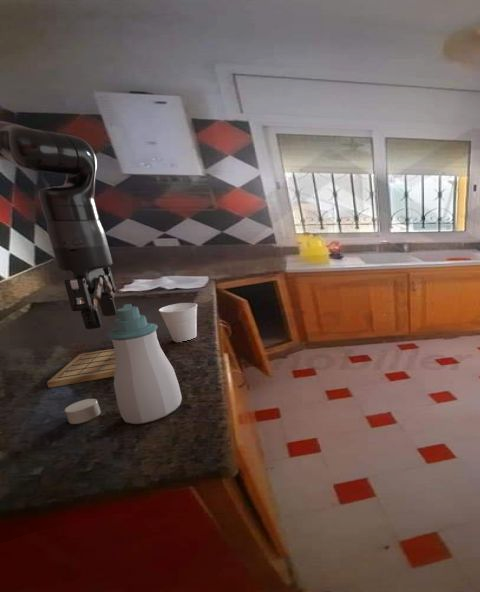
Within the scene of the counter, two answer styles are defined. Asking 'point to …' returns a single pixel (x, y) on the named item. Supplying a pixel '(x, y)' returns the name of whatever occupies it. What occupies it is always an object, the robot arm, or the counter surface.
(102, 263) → the robot arm
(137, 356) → the soap bottle
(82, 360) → the board
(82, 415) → the white short cylinder
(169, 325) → the cup
